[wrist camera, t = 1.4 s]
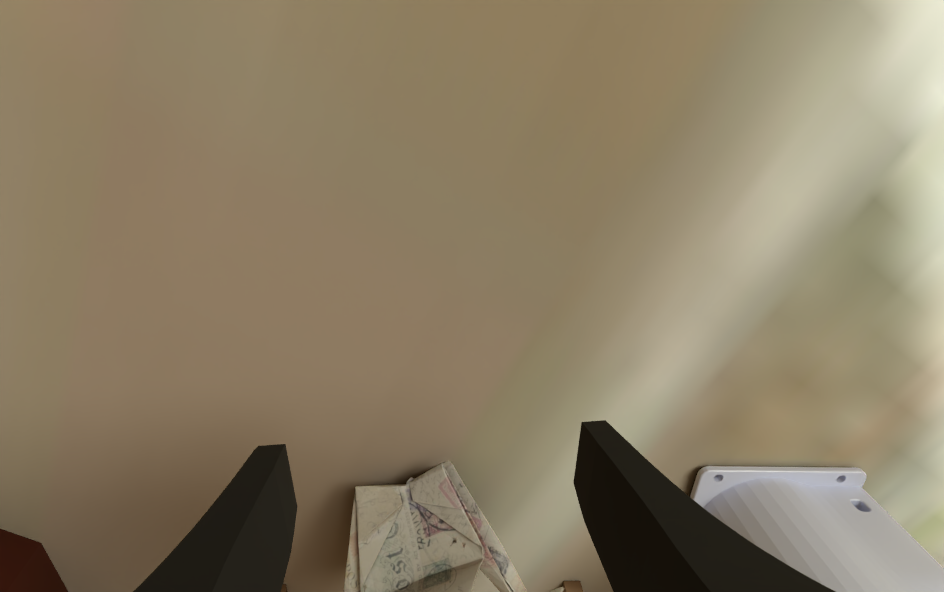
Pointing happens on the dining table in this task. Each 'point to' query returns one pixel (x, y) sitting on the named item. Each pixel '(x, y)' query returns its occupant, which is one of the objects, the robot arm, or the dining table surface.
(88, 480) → the dining table surface
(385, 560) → the origami crane
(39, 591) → the bucket
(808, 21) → the dining table surface
